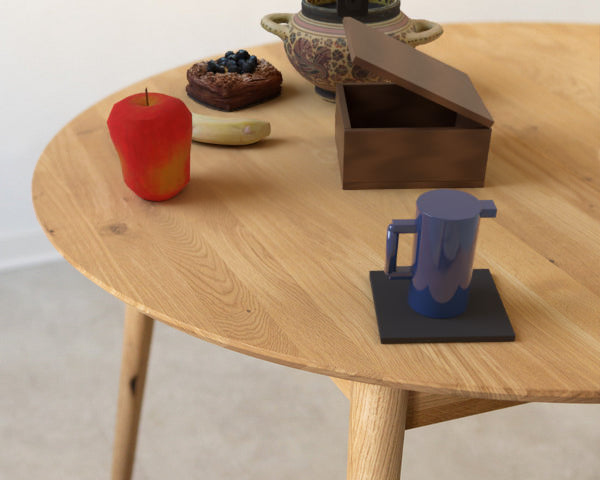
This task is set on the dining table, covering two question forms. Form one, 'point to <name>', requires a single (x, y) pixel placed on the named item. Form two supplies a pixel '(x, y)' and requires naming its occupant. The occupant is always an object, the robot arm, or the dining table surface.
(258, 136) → the fruit
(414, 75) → the chest lid
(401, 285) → the trivet
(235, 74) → the pastry
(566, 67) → the dining table surface
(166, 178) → the apple
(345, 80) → the ceramic bowl
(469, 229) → the jug
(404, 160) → the chest
